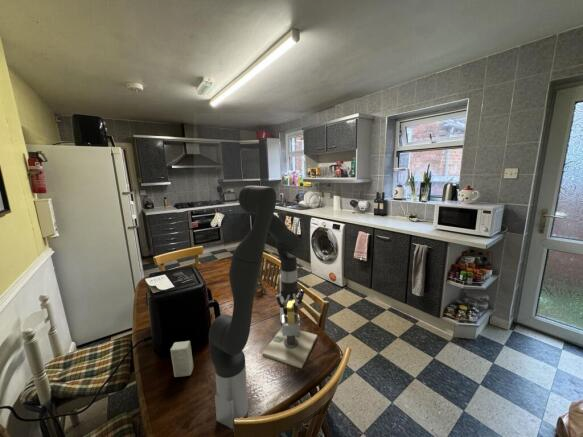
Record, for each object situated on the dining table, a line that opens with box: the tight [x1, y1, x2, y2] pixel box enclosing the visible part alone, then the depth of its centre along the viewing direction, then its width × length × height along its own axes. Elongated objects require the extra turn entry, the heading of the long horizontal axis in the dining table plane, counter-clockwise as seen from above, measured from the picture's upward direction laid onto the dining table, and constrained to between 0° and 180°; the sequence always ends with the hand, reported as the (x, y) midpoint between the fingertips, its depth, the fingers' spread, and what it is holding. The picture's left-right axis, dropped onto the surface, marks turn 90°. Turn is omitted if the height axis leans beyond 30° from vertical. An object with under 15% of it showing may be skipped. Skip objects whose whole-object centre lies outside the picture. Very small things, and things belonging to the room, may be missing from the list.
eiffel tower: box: [254, 271, 268, 298], centre depth 153 cm, size 11×11×25 cm
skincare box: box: [169, 340, 194, 378], centre depth 91 cm, size 6×4×12 cm
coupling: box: [281, 301, 301, 336], centre depth 105 cm, size 11×8×10 cm
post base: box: [262, 327, 318, 369], centre depth 105 cm, size 20×18×11 cm
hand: (290, 313), depth 108 cm, fingers closed on coupling, 4 cm apart
